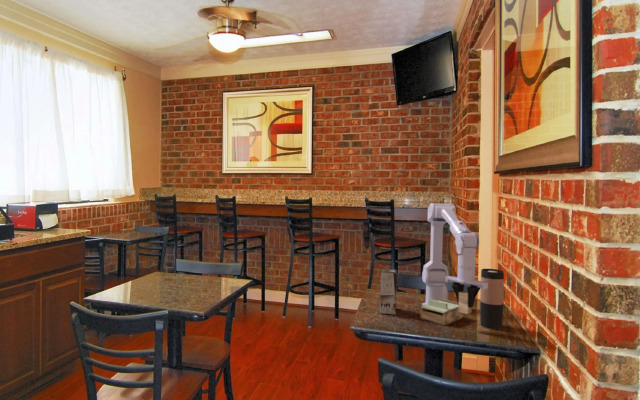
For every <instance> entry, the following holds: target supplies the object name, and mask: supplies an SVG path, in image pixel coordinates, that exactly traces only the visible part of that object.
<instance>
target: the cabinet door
mask: <svg viewBox="0 0 640 400" xmlns="http://www.w3.org/2000/svg"><path fill="white" fill-rule="evenodd" d="M458 307H459V305H457V304H452V303H448V302H443V301H435V300H431V299H430V300H429V304H426V305H421V308H425V309H429V310H433V311H437V312H441V313H447V312H449V311H452V310H455V309H457V308H458Z"/></svg>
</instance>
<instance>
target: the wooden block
mask: <svg viewBox="0 0 640 400" xmlns="http://www.w3.org/2000/svg"><path fill="white" fill-rule="evenodd" d="M472 308H473V307H471V308H470V307H468V290H463V291H461V292H459V307H458V312H460V313H463V315H464V314H465V315H469V314H472Z"/></svg>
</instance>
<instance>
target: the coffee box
mask: <svg viewBox="0 0 640 400" xmlns="http://www.w3.org/2000/svg"><path fill="white" fill-rule="evenodd" d="M397 290H398V270H397V269H392V268H389V269H388V268H386V269H385V268H382V269H381V270H380V290H379V291H380V292H379V293H380V294H379V297H380V298H379V300H380V301H379V313H380V314H387V315H388V314H389V315H396V314H397V299H398V298H397V297H398V296H397V295H398V294H397V292H398V291H397Z"/></svg>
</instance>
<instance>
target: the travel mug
mask: <svg viewBox="0 0 640 400" xmlns="http://www.w3.org/2000/svg"><path fill="white" fill-rule="evenodd" d="M504 280H505V272H504V270H502V269H495V268H482V269H481V271H480V281H482V282H486V283H488V288H487V289H483V288H480V290H479V292H480V295H479V297H480V298H479V306H480V307H479V308H480V310H479V312H480V313H479V314H480V315H479V317H480V319H479V321H480V322H479V323H480V326H481V327H483V328H485V329H489V330H501V329H502V328H503V322H504V321H503V320H504V295H505V293H504V292H505V283H504V282H505V281H504Z"/></svg>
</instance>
